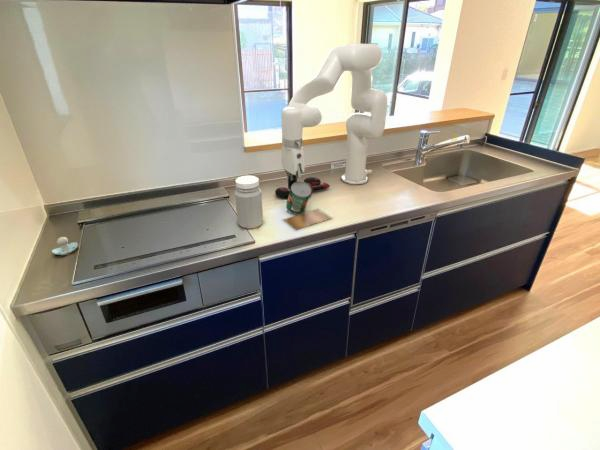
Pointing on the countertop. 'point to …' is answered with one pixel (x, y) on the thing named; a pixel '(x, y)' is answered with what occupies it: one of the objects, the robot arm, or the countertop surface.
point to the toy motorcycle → (311, 181)
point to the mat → (306, 219)
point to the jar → (248, 202)
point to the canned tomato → (298, 198)
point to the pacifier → (64, 247)
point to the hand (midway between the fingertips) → (292, 188)
